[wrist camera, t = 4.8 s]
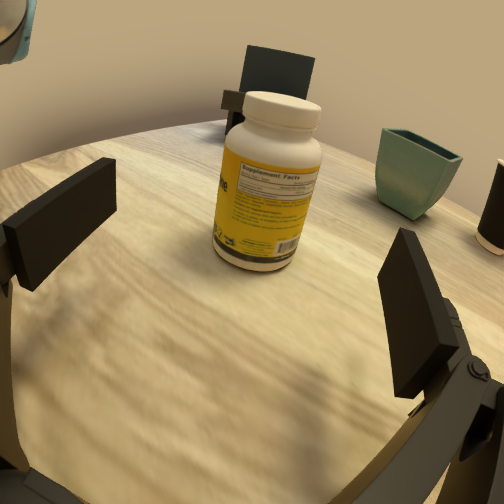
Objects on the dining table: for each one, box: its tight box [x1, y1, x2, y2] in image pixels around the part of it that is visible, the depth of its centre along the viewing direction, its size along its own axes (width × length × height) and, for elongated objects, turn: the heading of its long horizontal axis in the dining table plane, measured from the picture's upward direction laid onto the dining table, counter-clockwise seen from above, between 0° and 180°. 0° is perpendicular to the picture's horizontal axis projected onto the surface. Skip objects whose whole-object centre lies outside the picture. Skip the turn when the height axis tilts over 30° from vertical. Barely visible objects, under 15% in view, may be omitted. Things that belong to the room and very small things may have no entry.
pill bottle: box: [213, 91, 322, 271], centre depth 21 cm, size 6×6×11 cm
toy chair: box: [221, 45, 315, 135], centre depth 45 cm, size 11×12×15 cm
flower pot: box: [375, 128, 463, 220], centre depth 35 cm, size 9×9×9 cm
